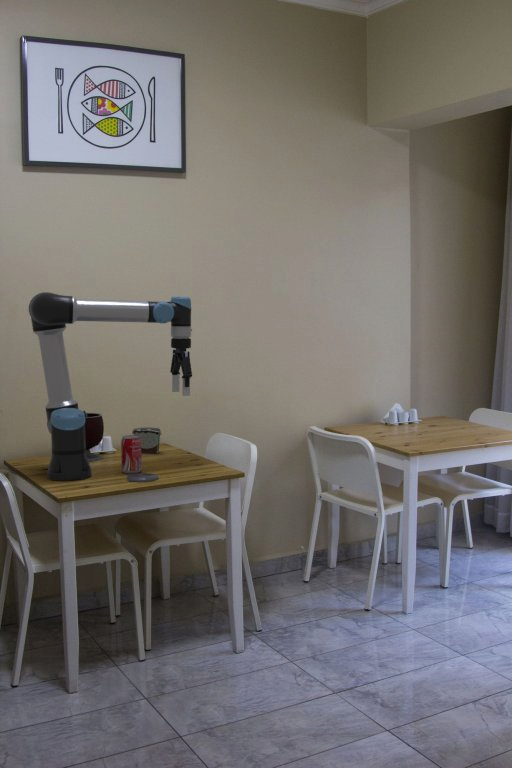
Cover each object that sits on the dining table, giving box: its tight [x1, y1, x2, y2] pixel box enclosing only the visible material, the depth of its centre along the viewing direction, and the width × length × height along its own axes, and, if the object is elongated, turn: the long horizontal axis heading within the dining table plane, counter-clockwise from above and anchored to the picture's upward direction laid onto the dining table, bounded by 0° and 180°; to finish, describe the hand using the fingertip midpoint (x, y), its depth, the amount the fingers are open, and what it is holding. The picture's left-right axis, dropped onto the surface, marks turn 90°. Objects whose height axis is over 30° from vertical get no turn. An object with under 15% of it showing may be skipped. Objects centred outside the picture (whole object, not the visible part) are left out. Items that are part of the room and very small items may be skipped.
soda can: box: [120, 434, 143, 475], centre depth 306 cm, size 7×7×13 cm
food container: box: [131, 426, 162, 456], centre depth 343 cm, size 12×6×10 cm, turn 72°
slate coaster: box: [126, 472, 159, 483], centre depth 296 cm, size 11×11×1 cm
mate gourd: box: [82, 410, 105, 462], centre depth 331 cm, size 16×14×20 cm
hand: (180, 393), depth 323 cm, fingers open, 13 cm apart
